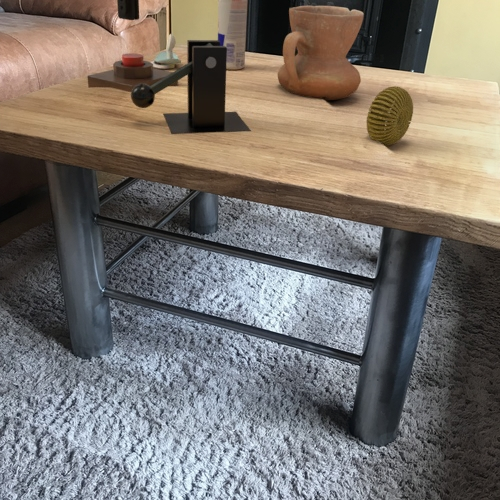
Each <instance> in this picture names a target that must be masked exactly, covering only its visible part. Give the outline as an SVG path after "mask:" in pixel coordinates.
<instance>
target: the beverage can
mask: <svg viewBox="0 0 500 500" xmlns="http://www.w3.org/2000/svg"><path fill="white" fill-rule="evenodd" d="M217 14H218V15H217V40H219V41H220V46H226V47H227V62H226V71H227V70H228V71H229V70H230V71H234V70H235V71H238V70H241V69H244V67H245V65H246V63H245V61H246V40H247V21H248V20H247V19H248V18H247V17H248V0H218V13H217Z"/></svg>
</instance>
